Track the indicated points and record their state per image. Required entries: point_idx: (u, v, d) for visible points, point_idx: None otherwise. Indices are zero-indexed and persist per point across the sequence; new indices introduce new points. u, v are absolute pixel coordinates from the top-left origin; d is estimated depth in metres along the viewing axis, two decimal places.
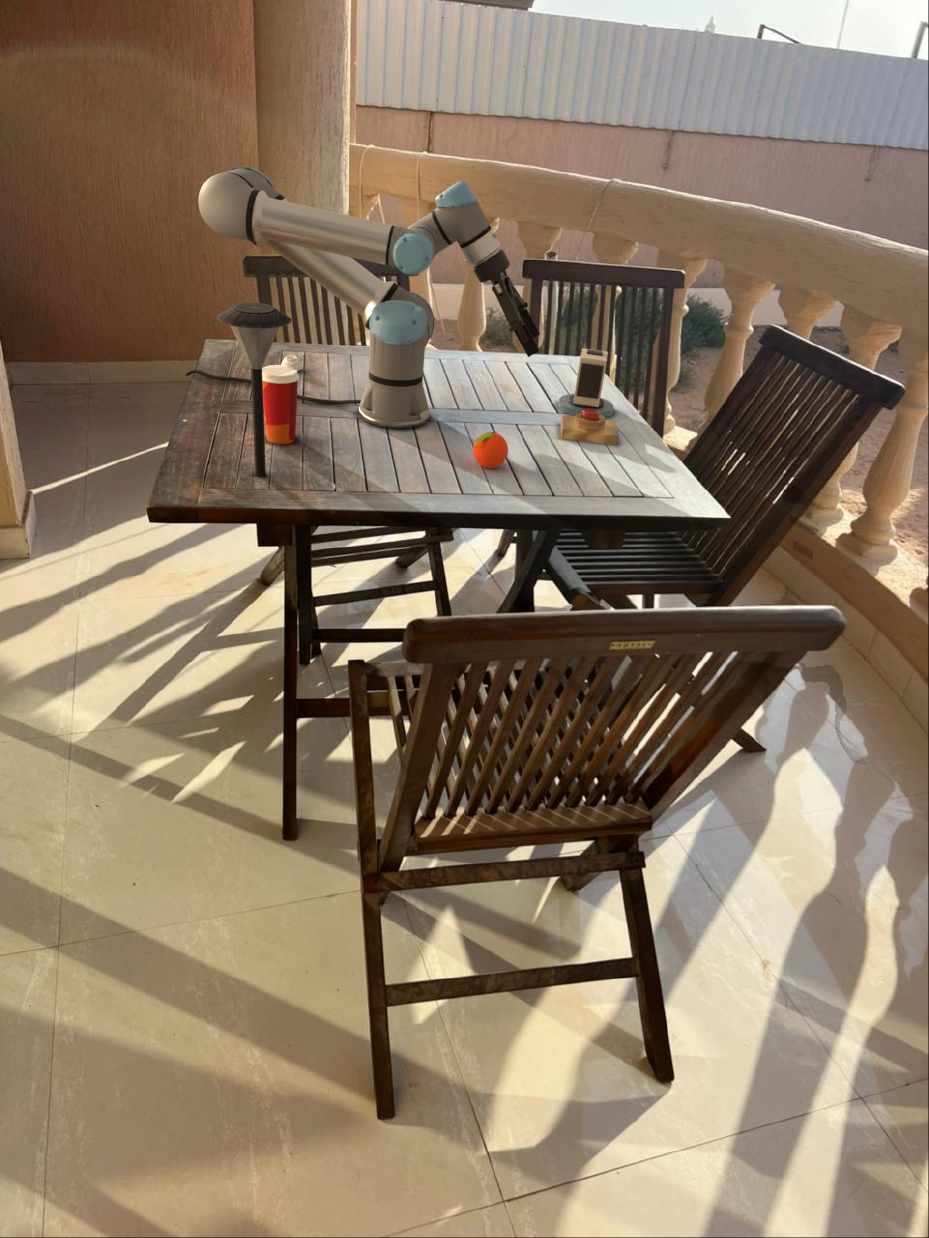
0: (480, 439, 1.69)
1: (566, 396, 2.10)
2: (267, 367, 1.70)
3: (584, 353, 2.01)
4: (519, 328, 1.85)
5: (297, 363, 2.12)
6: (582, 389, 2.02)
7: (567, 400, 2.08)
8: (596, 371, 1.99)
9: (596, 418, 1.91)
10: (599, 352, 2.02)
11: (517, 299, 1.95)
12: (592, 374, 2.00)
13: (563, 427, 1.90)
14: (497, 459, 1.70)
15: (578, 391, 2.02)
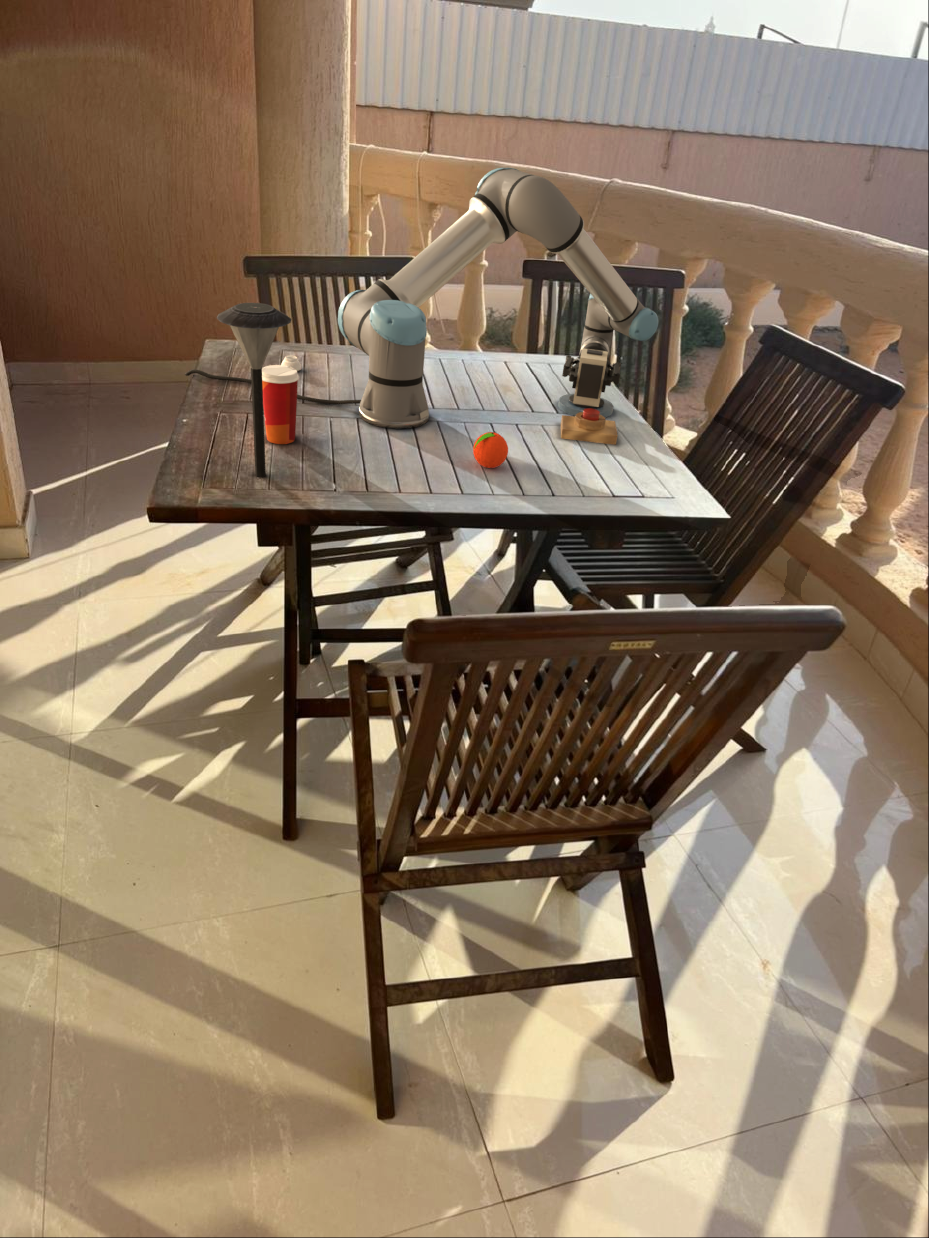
0: (480, 439, 1.69)
1: (566, 396, 2.10)
2: (267, 367, 1.70)
3: (584, 353, 2.01)
4: (611, 379, 2.05)
5: (297, 363, 2.12)
6: (582, 389, 2.02)
7: (567, 400, 2.08)
8: (596, 371, 1.99)
9: (596, 418, 1.91)
10: (599, 352, 2.02)
11: None
12: (592, 374, 2.00)
13: (563, 427, 1.90)
14: (497, 459, 1.70)
15: (578, 391, 2.02)
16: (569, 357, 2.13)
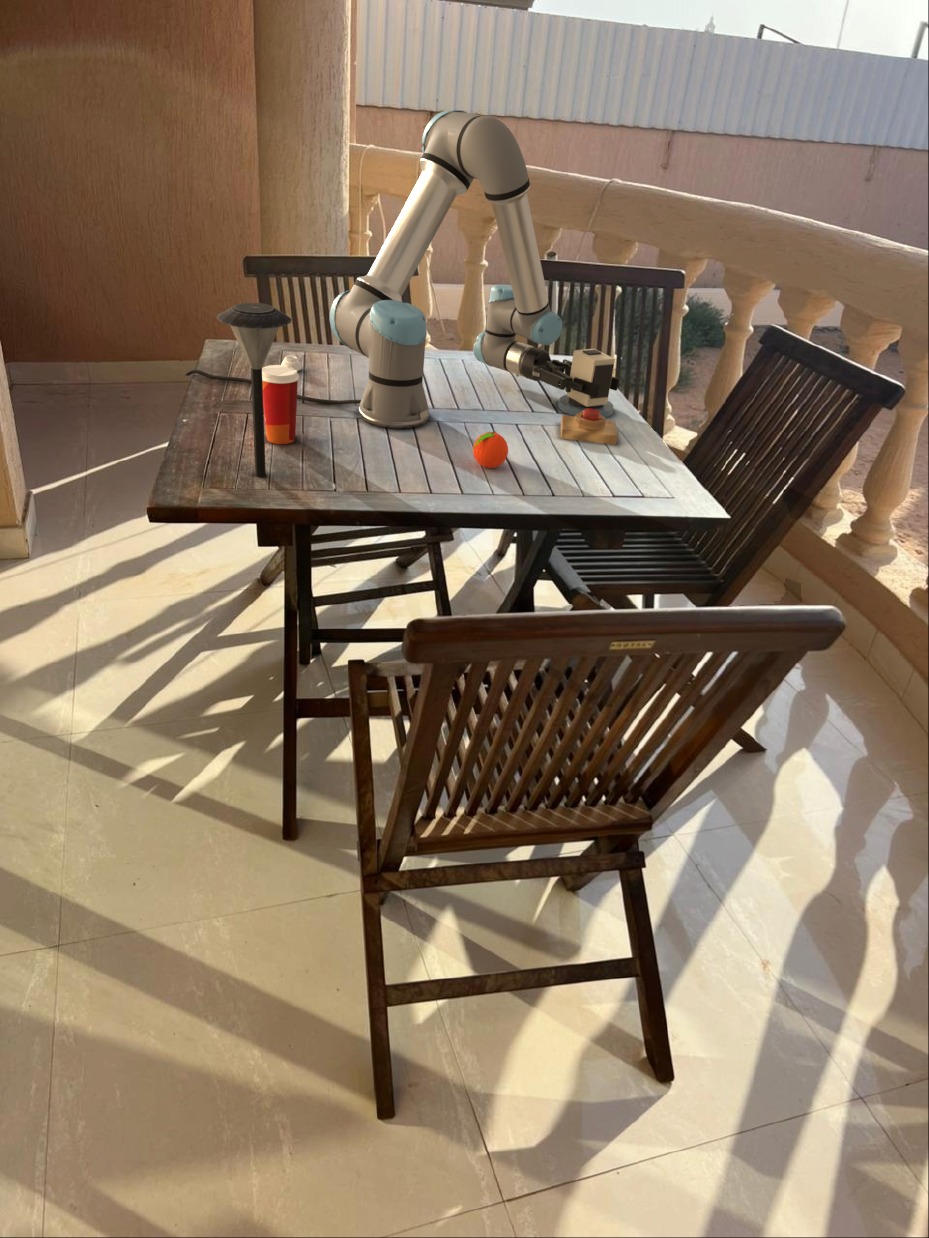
0: (480, 439, 1.69)
1: (566, 396, 2.10)
2: (267, 367, 1.70)
3: (587, 355, 2.00)
4: None
5: (297, 363, 2.12)
6: None
7: (567, 400, 2.08)
8: (608, 370, 2.00)
9: (596, 418, 1.91)
10: (596, 351, 2.02)
11: None
12: (604, 374, 2.00)
13: (563, 427, 1.90)
14: (497, 459, 1.70)
15: None
16: (540, 369, 2.05)
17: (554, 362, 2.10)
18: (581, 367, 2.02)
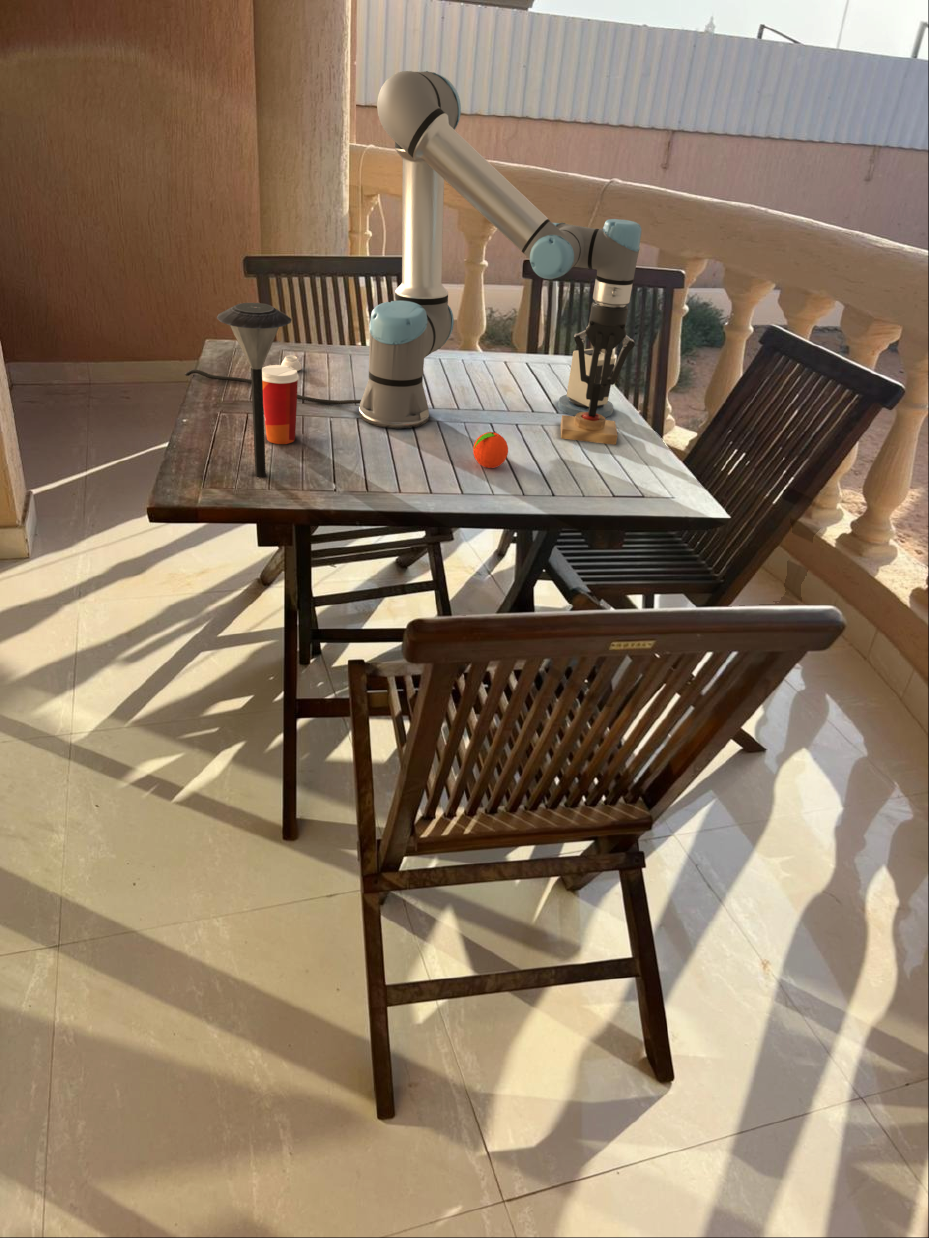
0: (480, 439, 1.69)
1: (566, 396, 2.10)
2: (267, 367, 1.70)
3: (588, 355, 2.00)
4: (587, 383, 1.88)
5: (297, 363, 2.12)
6: None
7: (567, 400, 2.08)
8: (609, 370, 2.00)
9: None
10: None
11: (603, 367, 1.85)
12: None
13: (563, 427, 1.90)
14: (497, 459, 1.70)
15: None
16: None
17: None
18: None
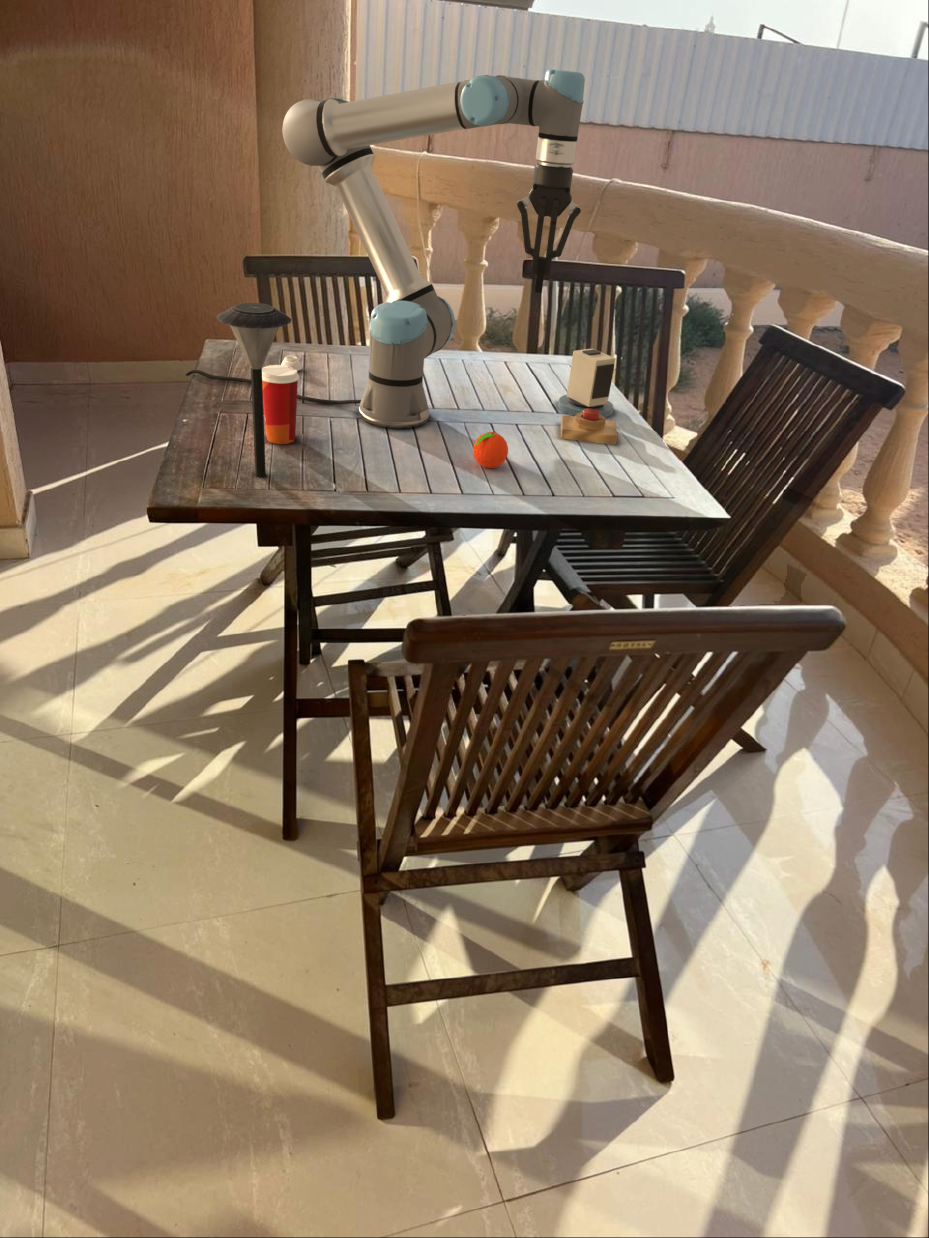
0: (480, 439, 1.69)
1: (566, 396, 2.10)
2: (267, 367, 1.70)
3: (588, 355, 2.00)
4: (532, 256, 1.78)
5: (297, 363, 2.12)
6: (597, 391, 2.02)
7: (567, 400, 2.08)
8: (609, 370, 2.00)
9: (596, 418, 1.91)
10: (595, 351, 2.02)
11: (548, 237, 1.75)
12: (606, 374, 2.00)
13: (563, 427, 1.90)
14: (497, 459, 1.70)
15: (594, 394, 2.02)
16: None
17: None
18: (582, 368, 2.02)
